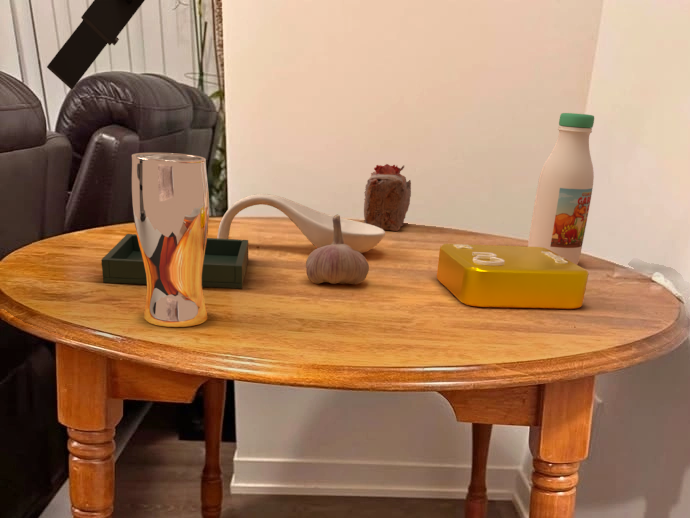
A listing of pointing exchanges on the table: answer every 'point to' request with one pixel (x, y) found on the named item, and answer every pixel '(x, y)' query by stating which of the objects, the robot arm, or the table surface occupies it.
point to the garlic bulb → (336, 261)
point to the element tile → (511, 276)
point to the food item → (387, 198)
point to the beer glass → (172, 234)
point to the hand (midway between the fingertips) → (76, 56)
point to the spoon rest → (309, 223)
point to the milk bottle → (565, 190)
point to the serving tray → (218, 269)
